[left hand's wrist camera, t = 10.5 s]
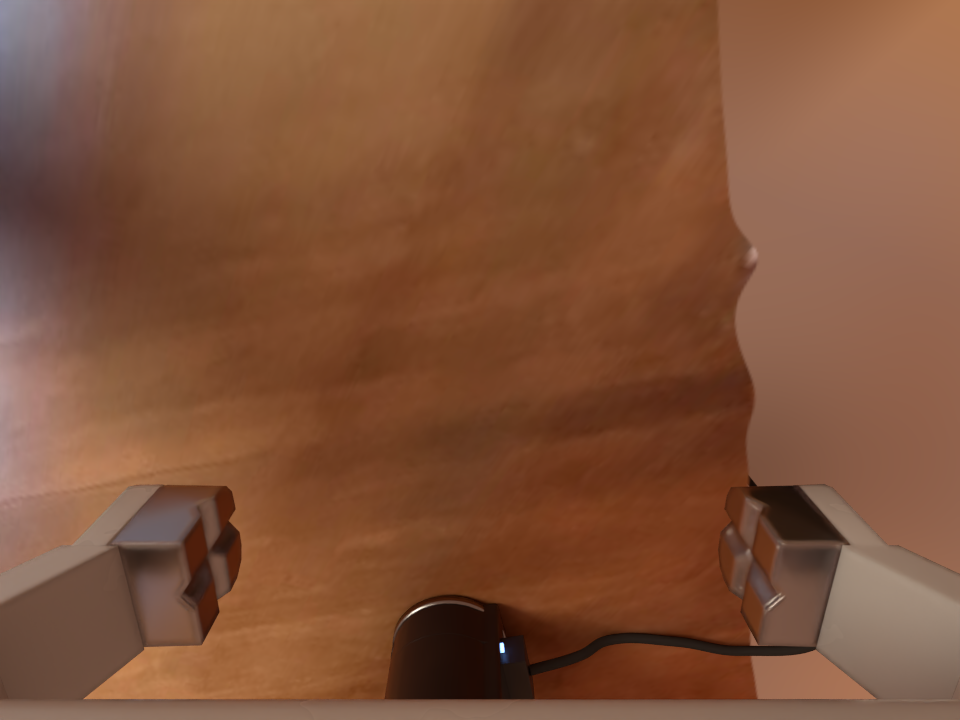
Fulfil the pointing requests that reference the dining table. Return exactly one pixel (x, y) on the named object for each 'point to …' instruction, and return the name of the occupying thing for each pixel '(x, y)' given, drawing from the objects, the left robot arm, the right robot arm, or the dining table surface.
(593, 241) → the dining table surface
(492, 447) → the dining table surface
